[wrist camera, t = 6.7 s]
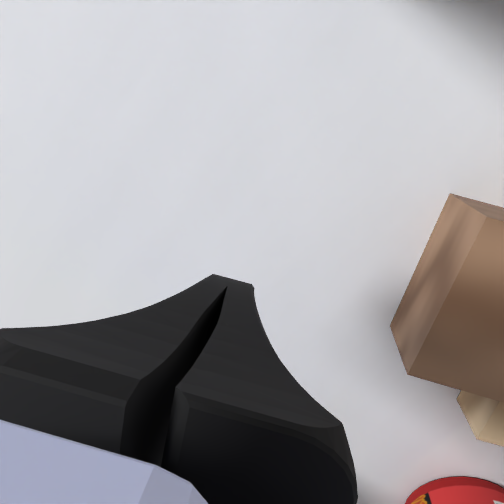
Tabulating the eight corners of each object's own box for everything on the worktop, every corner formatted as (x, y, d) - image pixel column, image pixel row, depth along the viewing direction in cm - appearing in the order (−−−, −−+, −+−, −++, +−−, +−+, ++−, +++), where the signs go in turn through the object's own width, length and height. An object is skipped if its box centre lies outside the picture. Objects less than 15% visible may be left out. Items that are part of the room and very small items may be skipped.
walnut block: (474, 348, 22) (512, 404, 18) (389, 324, 22) (407, 374, 18) (547, 219, 19) (614, 251, 15) (448, 192, 19) (486, 216, 15)
